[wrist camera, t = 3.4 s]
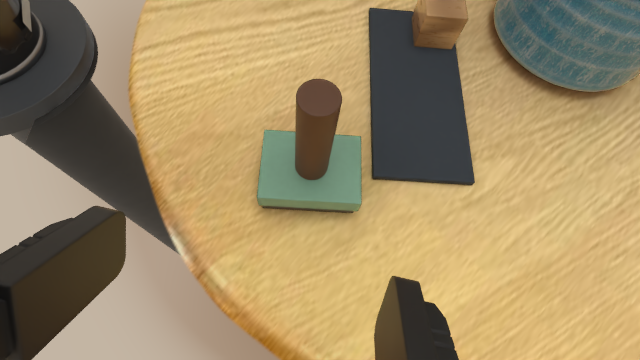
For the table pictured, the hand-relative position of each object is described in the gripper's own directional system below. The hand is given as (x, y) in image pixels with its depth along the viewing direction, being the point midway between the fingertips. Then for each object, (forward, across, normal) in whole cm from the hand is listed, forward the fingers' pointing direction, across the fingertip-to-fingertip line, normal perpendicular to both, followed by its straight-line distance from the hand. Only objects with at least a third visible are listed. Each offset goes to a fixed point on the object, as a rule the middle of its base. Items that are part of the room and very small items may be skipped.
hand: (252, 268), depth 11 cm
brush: (+20, 0, +5) cm, 21 cm away
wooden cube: (+34, -9, -9) cm, 36 cm away
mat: (+29, -8, -4) cm, 30 cm away
